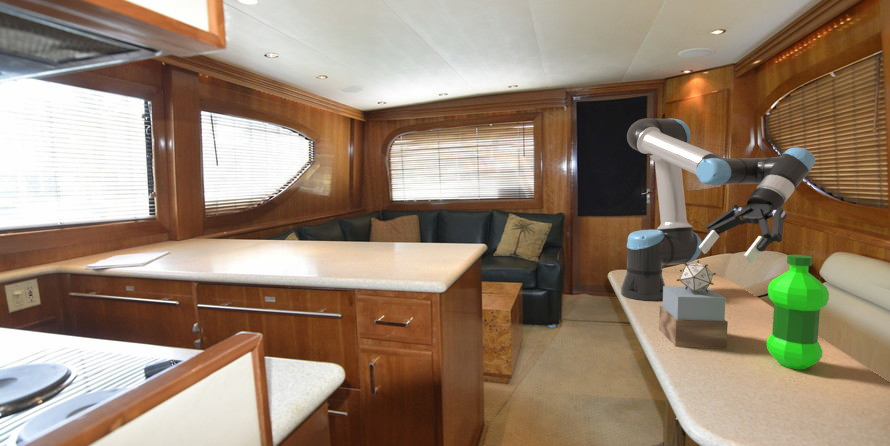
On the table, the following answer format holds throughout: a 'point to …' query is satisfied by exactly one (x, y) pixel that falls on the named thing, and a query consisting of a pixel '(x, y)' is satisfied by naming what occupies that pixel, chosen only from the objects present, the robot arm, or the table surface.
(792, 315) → the plastic bottle
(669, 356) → the table surface
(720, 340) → the tower base
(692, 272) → the game die
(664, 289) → the tower top
